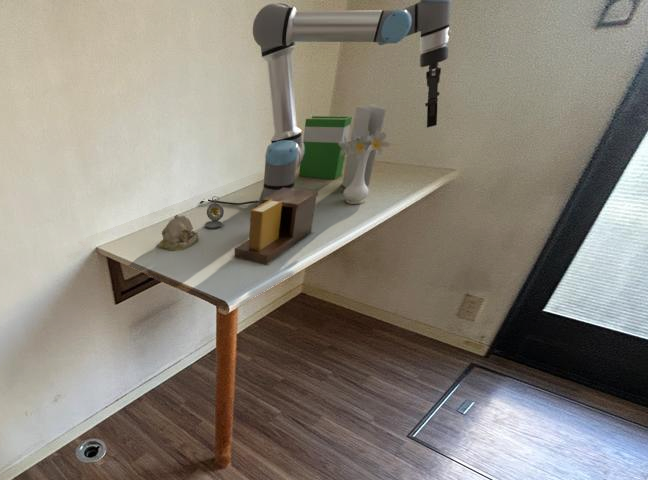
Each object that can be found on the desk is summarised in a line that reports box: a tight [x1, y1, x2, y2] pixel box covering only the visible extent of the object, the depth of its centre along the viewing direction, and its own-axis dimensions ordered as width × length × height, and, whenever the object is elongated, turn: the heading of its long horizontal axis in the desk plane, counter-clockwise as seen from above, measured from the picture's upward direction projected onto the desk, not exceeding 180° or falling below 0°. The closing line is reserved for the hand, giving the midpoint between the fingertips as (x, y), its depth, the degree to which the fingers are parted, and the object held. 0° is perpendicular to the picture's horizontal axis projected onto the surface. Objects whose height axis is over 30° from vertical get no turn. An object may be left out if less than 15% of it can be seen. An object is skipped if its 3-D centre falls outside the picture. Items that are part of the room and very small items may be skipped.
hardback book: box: [298, 115, 353, 180], centre depth 191 cm, size 18×7×24 cm, turn 50°
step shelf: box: [234, 188, 319, 266], centre depth 137 cm, size 13×30×14 cm, turn 137°
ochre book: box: [248, 199, 282, 251], centre depth 132 cm, size 4×12×12 cm, turn 137°
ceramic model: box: [158, 214, 199, 251], centre depth 147 cm, size 14×11×10 cm
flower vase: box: [338, 130, 390, 205], centre depth 159 cm, size 13×18×25 cm
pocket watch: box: [204, 196, 225, 229], centre depth 158 cm, size 8×8×10 cm
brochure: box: [341, 103, 387, 189], centre depth 170 cm, size 14×6×30 cm, turn 179°
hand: (431, 122), depth 143 cm, fingers open, 13 cm apart
